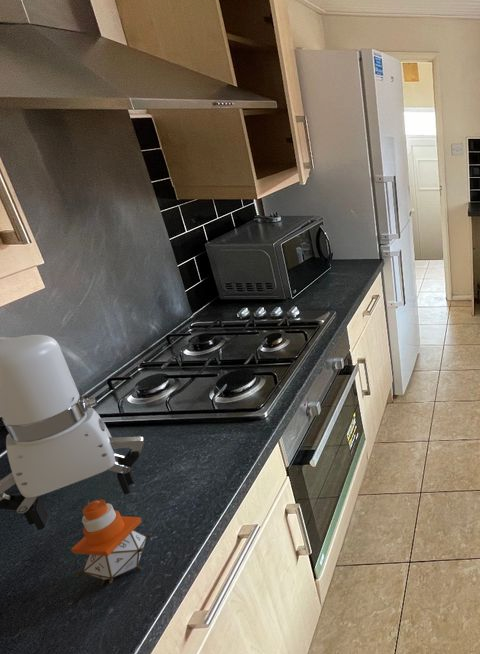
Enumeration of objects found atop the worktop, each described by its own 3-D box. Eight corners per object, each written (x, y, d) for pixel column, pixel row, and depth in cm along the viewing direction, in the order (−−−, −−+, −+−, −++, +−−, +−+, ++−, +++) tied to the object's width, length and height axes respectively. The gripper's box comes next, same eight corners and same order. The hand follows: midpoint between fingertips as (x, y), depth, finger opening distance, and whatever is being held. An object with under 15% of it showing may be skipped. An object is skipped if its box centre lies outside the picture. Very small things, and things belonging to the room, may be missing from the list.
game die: (134, 590, 72) (109, 593, 64) (82, 579, 71) (49, 580, 63) (170, 531, 78) (151, 527, 70) (122, 519, 76) (97, 514, 69)
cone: (73, 553, 66) (53, 518, 63) (109, 519, 72) (93, 485, 69) (108, 556, 66) (90, 521, 63) (142, 521, 72) (127, 487, 69)
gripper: (127, 383, 68) (155, 463, 74) (-40, 430, 57) (9, 520, 63) (127, 406, 63) (158, 490, 69) (-56, 463, 52) (0, 557, 58)
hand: (87, 504), depth 66 cm, fingers open, 9 cm apart
